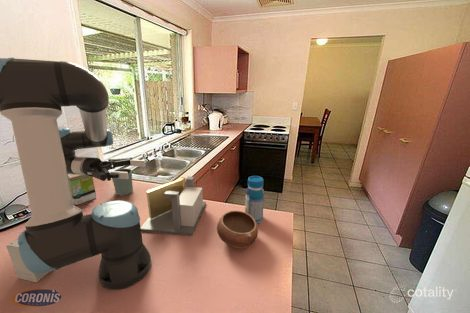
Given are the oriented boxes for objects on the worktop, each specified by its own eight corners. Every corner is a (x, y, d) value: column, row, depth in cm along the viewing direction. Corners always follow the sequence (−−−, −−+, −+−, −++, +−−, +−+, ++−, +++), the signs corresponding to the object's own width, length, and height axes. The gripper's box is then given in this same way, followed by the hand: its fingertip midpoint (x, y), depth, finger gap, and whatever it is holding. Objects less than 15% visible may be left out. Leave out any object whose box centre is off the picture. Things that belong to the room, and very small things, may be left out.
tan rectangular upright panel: (187, 202, 106) (186, 178, 101) (152, 219, 92) (148, 192, 88) (184, 200, 107) (183, 177, 103) (149, 217, 93) (145, 190, 89)
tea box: (97, 197, 112) (92, 171, 107) (75, 206, 104) (69, 178, 99) (83, 190, 119) (78, 165, 115) (62, 197, 111) (55, 171, 107)
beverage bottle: (255, 226, 92) (257, 184, 85) (240, 218, 97) (241, 178, 91) (266, 218, 97) (269, 178, 91) (251, 211, 103) (254, 173, 96)
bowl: (250, 260, 74) (252, 236, 71) (210, 248, 79) (209, 225, 76) (261, 233, 88) (262, 212, 85) (226, 224, 93) (226, 204, 90)
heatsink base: (205, 204, 108) (204, 172, 103) (192, 235, 85) (190, 197, 80) (163, 201, 110) (160, 170, 104) (139, 231, 87) (134, 193, 82)
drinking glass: (128, 186, 125) (125, 167, 121) (138, 191, 120) (135, 171, 116) (110, 192, 117) (107, 172, 113) (120, 198, 112) (116, 177, 108)
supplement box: (37, 283, 64) (24, 249, 60) (17, 278, 65) (4, 245, 61) (60, 264, 71) (51, 232, 67) (42, 260, 72) (32, 229, 68)
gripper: (108, 164, 102) (151, 166, 100) (65, 187, 79) (120, 191, 77) (106, 149, 100) (150, 151, 98) (60, 168, 76) (117, 172, 74)
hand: (137, 169), depth 87 cm, fingers open, 12 cm apart
